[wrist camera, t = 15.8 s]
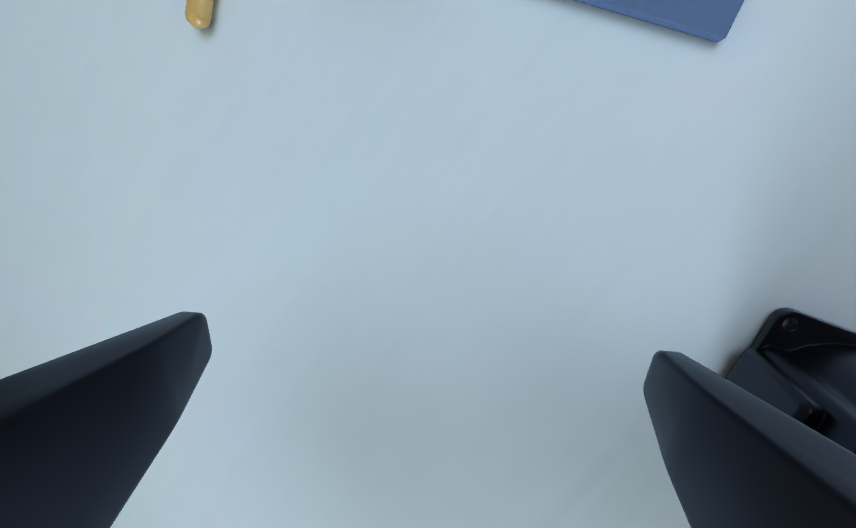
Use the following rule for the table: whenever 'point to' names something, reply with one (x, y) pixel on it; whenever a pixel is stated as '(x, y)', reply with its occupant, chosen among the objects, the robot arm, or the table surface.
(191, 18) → the wooden spoon
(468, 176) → the table surface
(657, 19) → the tea towel
